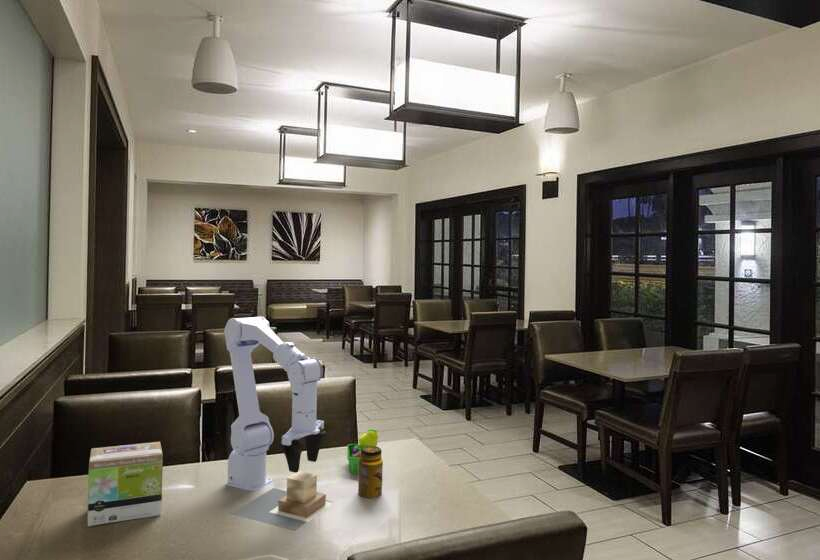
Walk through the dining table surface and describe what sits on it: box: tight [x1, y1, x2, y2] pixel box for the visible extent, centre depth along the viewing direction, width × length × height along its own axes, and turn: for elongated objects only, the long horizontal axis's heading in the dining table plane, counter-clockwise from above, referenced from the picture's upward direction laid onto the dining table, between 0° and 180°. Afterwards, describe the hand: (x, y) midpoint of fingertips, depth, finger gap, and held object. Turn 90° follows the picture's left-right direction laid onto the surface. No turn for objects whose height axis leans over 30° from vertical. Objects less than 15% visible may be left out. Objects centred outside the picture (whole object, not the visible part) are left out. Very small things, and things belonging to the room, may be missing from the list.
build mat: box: [230, 487, 335, 531], centre depth 133 cm, size 18×16×1 cm
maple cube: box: [286, 470, 318, 503], centre depth 134 cm, size 5×5×5 cm
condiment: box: [357, 446, 384, 499], centre depth 142 cm, size 7×8×12 cm
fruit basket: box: [346, 428, 379, 474], centre depth 161 cm, size 11×9×11 cm
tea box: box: [87, 441, 164, 528], centre depth 129 cm, size 15×10×15 cm
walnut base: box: [278, 491, 327, 518], centre depth 134 cm, size 8×8×2 cm
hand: (303, 466), depth 134 cm, fingers open, 7 cm apart
